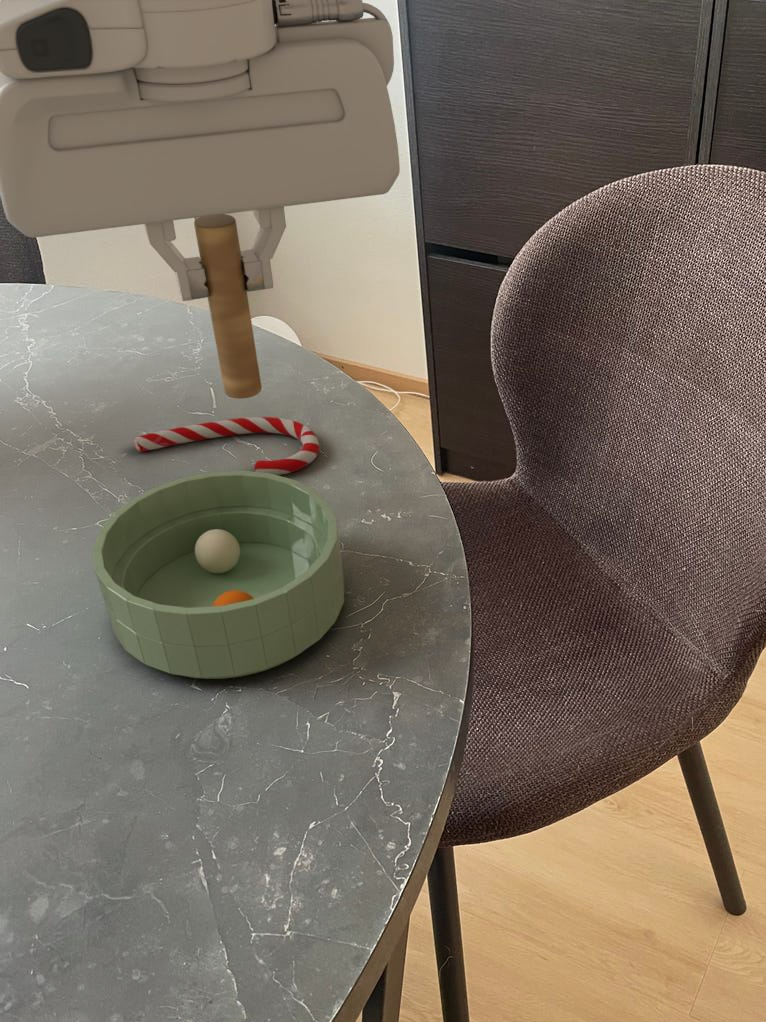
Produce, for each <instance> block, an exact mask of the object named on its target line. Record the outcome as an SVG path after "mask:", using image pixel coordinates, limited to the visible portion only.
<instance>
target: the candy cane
mask: <svg viewBox="0 0 766 1022" xmlns="http://www.w3.org/2000/svg"><path fill="white" fill-rule="evenodd" d="M245 434H246V435H247V434H278V435H284V436H289V437H292V438H295V439H296V440H298V441H299V442H300V443H301V445H302V448H301V449H300V450H299V451H298V452H296V453H294V454H292V455H291V456H288V457H284V458H281V459H273V460H272V459H271V460H262V459H261V460H257V461H256V462H255V464H254V466H253V467H254V472H262V473H270V474H274V475H278V476H281V475H286V474H290V473H293V472H297V471H299V470H301V469H303V468H305V467H306V466H308V465H309V464H311V463H312V462H313V461H314V460H315V459H316V458H317V456H318V454H319V450H320V442H319V439H318V437H317V435H316V434H315V432H314V431H313V430H312V429H311V428H310V427H308V426H307V425H305V424H303V423H300V422H299V421H295V420H293V419H288V418H282V417H273V416H253V417H251V416H250V417H240V418H239V417H238V418H229V419H222V420H215V421H208V422H202V423H197V424H190V425H185V426H180V427H179V426H178V427H174V428H170V429H164V430H160V431H159V430H158V431H154V432H151V433H147V434H146V433H145V434H143V435H139V436H136V437H135V438H134V440H133V444H134V447H135V450H136V451H137V452H147V451H152V450H153V451H154V450H158V449H162V448H166V447H171V446H176V445H181V444H187V443H191V442H197V441H204V440H209V439H215V438H221V437H223V438H224V437H228V436H236V435H245Z"/></svg>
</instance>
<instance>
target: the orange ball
mask: <svg viewBox="0 0 766 1022" xmlns="http://www.w3.org/2000/svg"><path fill="white" fill-rule="evenodd" d="M252 599H254V598H253V597H252V596H251V595H249V594H248V593H246V592H243V591H239V590H232V591H228V592H225V593H223V594H222V595H220V596H219V597H218V598H217V599H216V601H215V602H214V604H213V607H215V606H224V605H229V604H233V603H238V602H243V601H247V600H252Z"/></svg>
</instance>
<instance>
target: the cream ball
mask: <svg viewBox="0 0 766 1022" xmlns="http://www.w3.org/2000/svg"><path fill="white" fill-rule="evenodd" d="M195 556H196V559H197V561H198V563H199V564H200V566H201V567H202V568H204V569H205V570H207V571H209V572H212V573H224V572H227V571H229V570H231V569H232V568H233V567H234V566H235V565H236V563H237V562H238V560H239V556H240V547H239V544H238V542H237V540H236V538H235V537H234V536H233V535H232V534H230V533H229V532H227V531H224V530H220V529H214V530H209V531H207V532H205V533H204V534H202V535H201V536H200V537H199V539H198V540H197V542H196V545H195Z"/></svg>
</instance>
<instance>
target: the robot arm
mask: <svg viewBox="0 0 766 1022" xmlns="http://www.w3.org/2000/svg"><path fill="white" fill-rule="evenodd" d="M364 14H368V15H371V16H372V17H366V18H365V17H364ZM363 17H364V18H363ZM393 39H394V37H393V31H392V28H391V25H390V21H389V20H388V18H387V17H386V16H385V14H384V12H382V11H381V10H380V9H379V8H378V7H376V6H374V5H373V4H370V3H367V2H363V0H0V200H1V205H2V207H3V212H4V215H5V218H6V220H7V221H8V223H9V224H11V226H12V227H14V228H15V229H17V230H18V231H19V232H20V233H21V234H23V235H24V236H26V237H27V238H32V239H33V238H44V237H50V236H60V235H67V234H74V233H83V232H91V231H99V230H107V229H115V228H123V227H131V226H138V225H139V226H140V225H143V226H144V230H145V233H146V237H147V239H148V242H149V244H150V245H151V247H152V248H153V249H154V250H155V252H156V253H157V254H158V255H159V256H160V257H161V258H162V259H163V260H164V262H165V263H166V264H167V265H168V266H169V267H170V269H171V270H172V271H173V273H175V274H174V275H175V279H176V283H177V288H178V291H179V296H180V297H181V301H182V302H186V301H187V302H188V301H193V300H200V299H205V298H207V297H209V292H208V287H207V285H206V283H205V282H206V275H205V270H204V267H203V264H201V260H200V256H193V257H185V256H184V255H183V254H182V253H181V252H180V251H179V249H178V248H177V247H176V246H175V245H174V243H173V241H175V240H177V236H176V230H175V224H174V221H179V220H187V219H195V218H196V219H198V218H199V217H205V216H213V215H221V214H226V215H230V214H235V213H245V212H252V214H253V216H254V218H255V220H256V222H257V223H258V225H259V228H258V231H257V234H256V237H255V239H254V242H253V245H252V247H251V249H245V250H240V251H241V257H242V265H243V271H244V277H245V284H246V290H247V293H250V292H257V291H265V290H270V289H274V279H273V272H272V265H271V264H272V263H271V260H273V258H274V256H275V253H276V250H277V249H278V246H279V244H280V242H281V239H282V237H283V235H284V232H285V230H286V229H287V224H286V215H285V207H291V206H301V205H309V204H317V203H324V202H325V203H326V202H333V201H341V200H348V199H356V198H364V197H372V196H380V195H385V194H387V193H389V192H390V190H392V189H391V188H392V187H393V185H394V184H395V183H396V181H397V179H398V177H399V175H400V169H401V168H400V167H401V166H400V154H399V145H398V137H397V131H396V130H397V129H396V124H395V119H394V114H393V109H392V104H391V99H390V94H389V89H388V85H389V83H390V81H391V79H392V76H393V73H394V70H395V69H394V67H395V56H394V40H393Z"/></svg>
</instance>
